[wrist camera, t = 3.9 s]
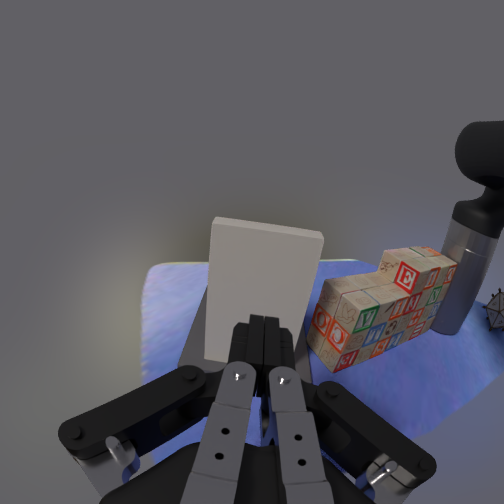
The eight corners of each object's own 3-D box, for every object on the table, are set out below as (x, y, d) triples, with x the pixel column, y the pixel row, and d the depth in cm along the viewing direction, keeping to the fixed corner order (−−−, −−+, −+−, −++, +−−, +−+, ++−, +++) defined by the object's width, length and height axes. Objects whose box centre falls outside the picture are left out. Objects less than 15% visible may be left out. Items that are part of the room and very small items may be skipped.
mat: (310, 385, 27) (311, 382, 27) (177, 367, 27) (177, 364, 27) (296, 286, 46) (297, 283, 46) (212, 274, 46) (212, 271, 46)
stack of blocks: (331, 376, 28) (370, 282, 24) (303, 342, 34) (329, 252, 29) (428, 330, 37) (459, 262, 32) (403, 310, 42) (428, 244, 37)
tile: (288, 370, 28) (324, 239, 22) (204, 358, 28) (212, 223, 22) (287, 356, 30) (320, 230, 24) (207, 346, 30) (216, 215, 24)
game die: (490, 347, 38) (524, 332, 29) (469, 323, 41) (503, 304, 32) (500, 314, 41) (531, 297, 32) (480, 291, 44) (510, 270, 35)
